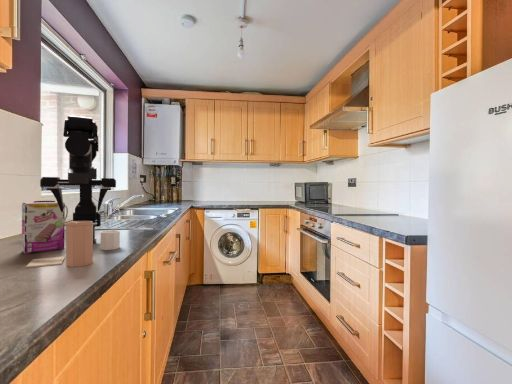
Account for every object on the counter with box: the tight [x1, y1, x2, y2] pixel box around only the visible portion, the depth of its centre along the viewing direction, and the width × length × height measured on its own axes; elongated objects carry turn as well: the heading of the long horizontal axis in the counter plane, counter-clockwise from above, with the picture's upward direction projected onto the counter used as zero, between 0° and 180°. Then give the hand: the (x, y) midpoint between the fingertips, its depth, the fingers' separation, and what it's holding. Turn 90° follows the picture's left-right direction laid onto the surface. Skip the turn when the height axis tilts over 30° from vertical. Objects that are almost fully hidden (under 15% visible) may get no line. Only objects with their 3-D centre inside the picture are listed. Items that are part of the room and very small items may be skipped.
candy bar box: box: [21, 201, 66, 255], centre depth 96 cm, size 11×5×16 cm, turn 141°
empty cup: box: [100, 229, 121, 251], centre depth 102 cm, size 6×6×6 cm
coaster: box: [25, 256, 66, 269], centre depth 82 cm, size 8×8×1 cm
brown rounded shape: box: [65, 220, 94, 268], centre depth 82 cm, size 6×6×12 cm
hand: (80, 211), depth 85 cm, fingers open, 9 cm apart
